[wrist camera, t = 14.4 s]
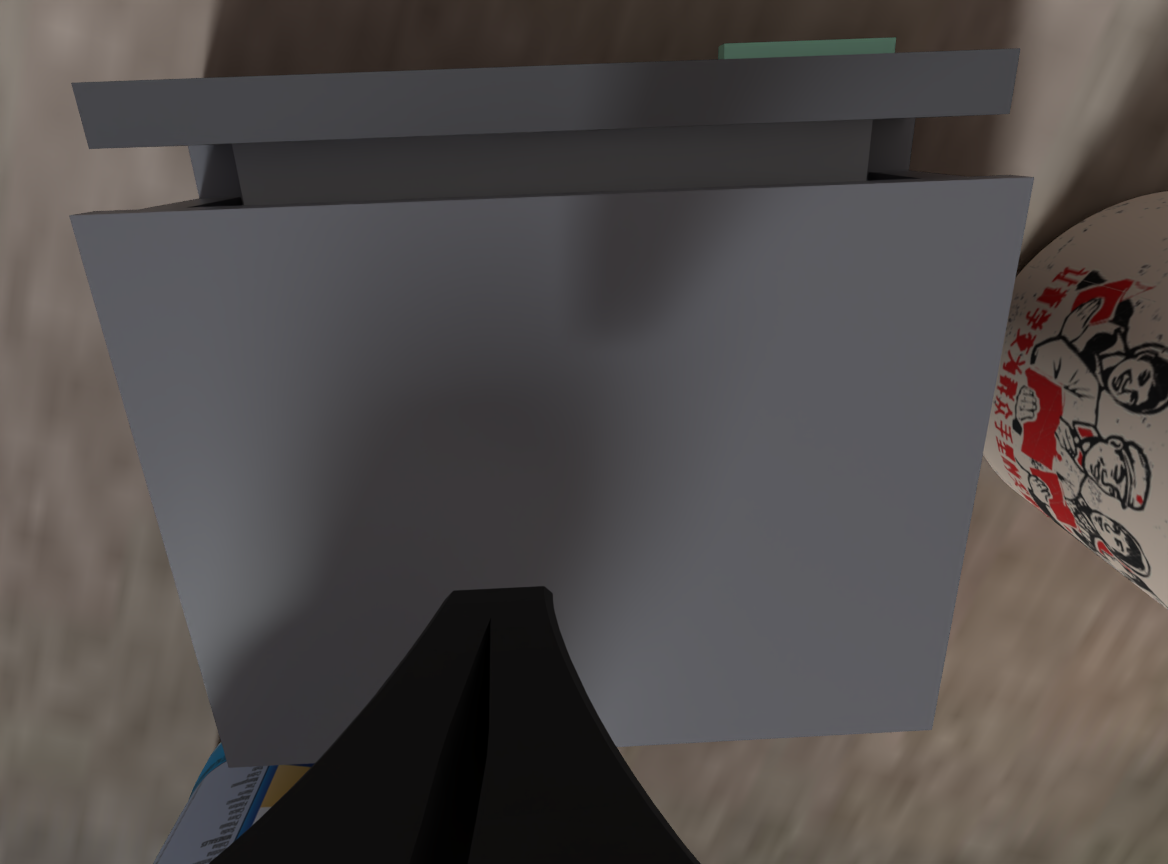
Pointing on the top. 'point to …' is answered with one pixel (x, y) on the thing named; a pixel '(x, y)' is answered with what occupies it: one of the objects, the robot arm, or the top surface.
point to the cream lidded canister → (1093, 388)
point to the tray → (555, 121)
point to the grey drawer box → (569, 436)
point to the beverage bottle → (225, 807)
